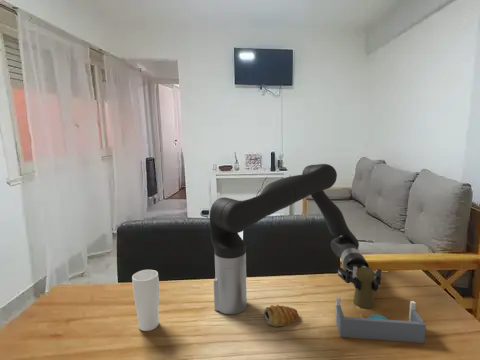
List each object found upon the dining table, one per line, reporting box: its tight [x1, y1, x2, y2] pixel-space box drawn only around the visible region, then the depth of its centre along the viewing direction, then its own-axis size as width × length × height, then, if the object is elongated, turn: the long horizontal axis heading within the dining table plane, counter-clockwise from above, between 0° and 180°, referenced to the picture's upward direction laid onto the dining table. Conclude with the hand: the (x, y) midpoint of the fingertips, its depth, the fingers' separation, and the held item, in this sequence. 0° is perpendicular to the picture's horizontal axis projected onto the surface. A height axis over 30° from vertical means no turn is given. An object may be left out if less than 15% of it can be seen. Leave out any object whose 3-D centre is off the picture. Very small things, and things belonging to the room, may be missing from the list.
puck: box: [368, 314, 389, 320], centre depth 79 cm, size 5×5×3 cm
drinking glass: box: [131, 269, 160, 332], centre depth 81 cm, size 7×7×15 cm
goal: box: [335, 296, 427, 344], centre depth 78 cm, size 20×7×7 cm, turn 82°
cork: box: [352, 267, 375, 309], centre depth 91 cm, size 6×6×11 cm
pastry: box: [263, 304, 300, 328], centre depth 84 cm, size 9×7×4 cm
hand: (367, 287), depth 88 cm, fingers closed on cork, 4 cm apart
